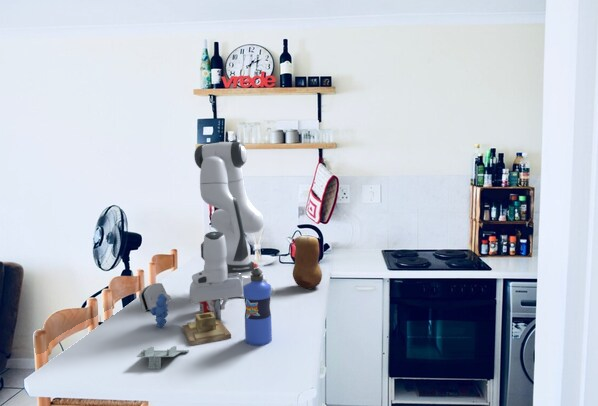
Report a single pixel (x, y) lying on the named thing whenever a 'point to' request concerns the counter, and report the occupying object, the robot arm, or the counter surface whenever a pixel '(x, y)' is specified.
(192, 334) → the jig
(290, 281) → the counter surface
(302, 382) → the counter surface
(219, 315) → the hinge pin
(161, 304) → the grapes
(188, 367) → the counter surface
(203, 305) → the soda can
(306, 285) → the butternut squash
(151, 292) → the grey rounded box
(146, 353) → the metal bracket
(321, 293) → the counter surface
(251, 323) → the water bottle
